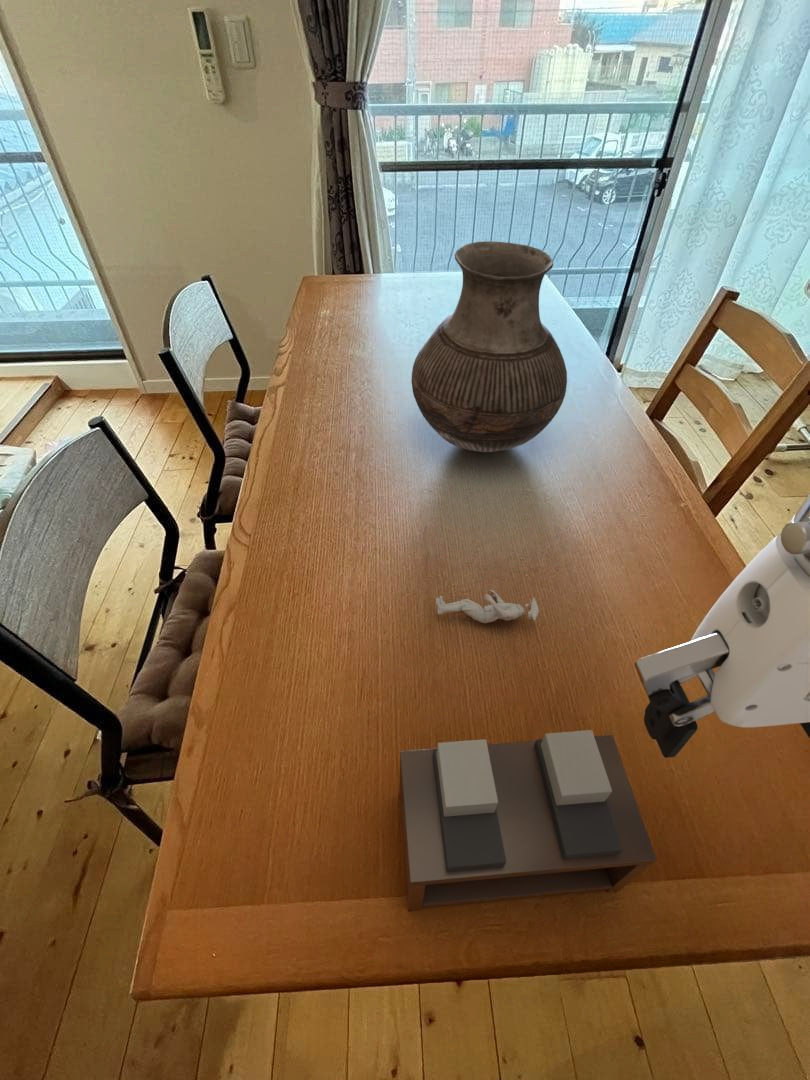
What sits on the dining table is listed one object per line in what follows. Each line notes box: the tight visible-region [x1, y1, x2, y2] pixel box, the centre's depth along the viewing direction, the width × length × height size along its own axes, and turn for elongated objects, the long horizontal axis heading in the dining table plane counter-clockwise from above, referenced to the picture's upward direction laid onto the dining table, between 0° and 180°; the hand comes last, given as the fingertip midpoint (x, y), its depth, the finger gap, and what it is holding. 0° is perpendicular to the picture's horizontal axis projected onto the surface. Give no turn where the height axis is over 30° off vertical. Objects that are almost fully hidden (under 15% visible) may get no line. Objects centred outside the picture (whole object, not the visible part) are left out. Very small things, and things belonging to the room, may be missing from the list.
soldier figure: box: [435, 589, 540, 624], centre depth 69 cm, size 8×5×12 cm
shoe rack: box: [398, 734, 658, 912], centre depth 49 cm, size 10×19×10 cm, turn 95°
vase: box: [411, 240, 568, 453], centre depth 86 cm, size 25×25×30 cm
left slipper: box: [432, 738, 506, 872], centre depth 44 cm, size 9×4×3 cm, turn 5°
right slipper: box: [534, 729, 622, 859], centre depth 44 cm, size 9×4×3 cm, turn 5°
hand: (731, 727), depth 35 cm, fingers open, 9 cm apart
